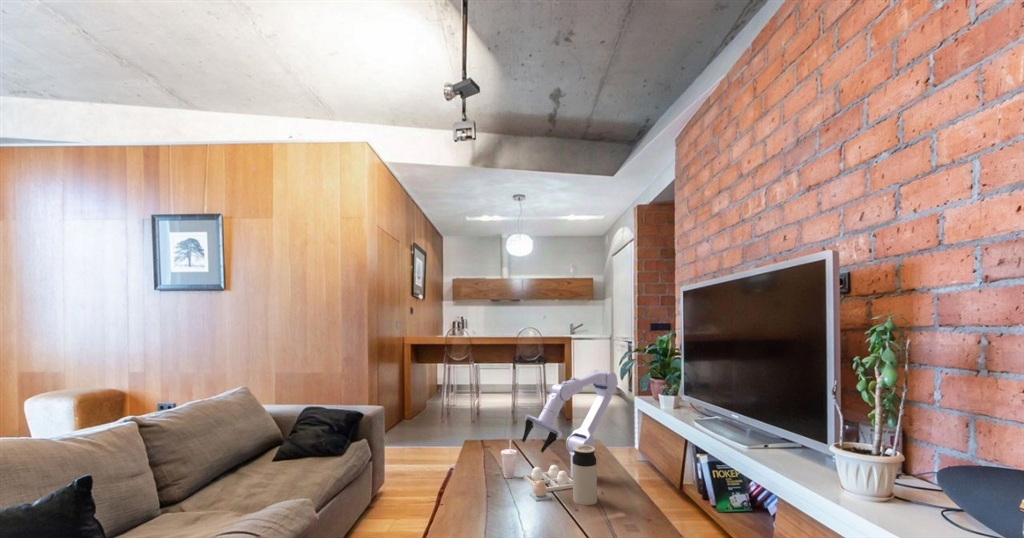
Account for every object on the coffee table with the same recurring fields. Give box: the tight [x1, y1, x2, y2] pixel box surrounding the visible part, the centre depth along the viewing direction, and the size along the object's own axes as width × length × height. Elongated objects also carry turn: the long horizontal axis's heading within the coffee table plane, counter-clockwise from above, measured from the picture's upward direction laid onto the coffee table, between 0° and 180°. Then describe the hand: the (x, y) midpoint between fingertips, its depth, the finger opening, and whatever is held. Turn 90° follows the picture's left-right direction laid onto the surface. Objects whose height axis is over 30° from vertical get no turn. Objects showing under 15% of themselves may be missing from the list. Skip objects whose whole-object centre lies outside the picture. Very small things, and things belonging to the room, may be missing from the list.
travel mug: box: [572, 445, 598, 506], centre depth 154 cm, size 8×8×18 cm
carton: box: [522, 471, 573, 493], centre depth 169 cm, size 15×15×2 cm
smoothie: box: [500, 439, 518, 480], centre depth 179 cm, size 6×6×14 cm
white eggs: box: [530, 464, 570, 485], centre depth 170 cm, size 12×12×5 cm
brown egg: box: [532, 480, 548, 497], centre depth 156 cm, size 5×5×5 cm
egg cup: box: [529, 492, 552, 502], centre depth 156 cm, size 6×6×2 cm
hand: (532, 446), depth 163 cm, fingers open, 7 cm apart
